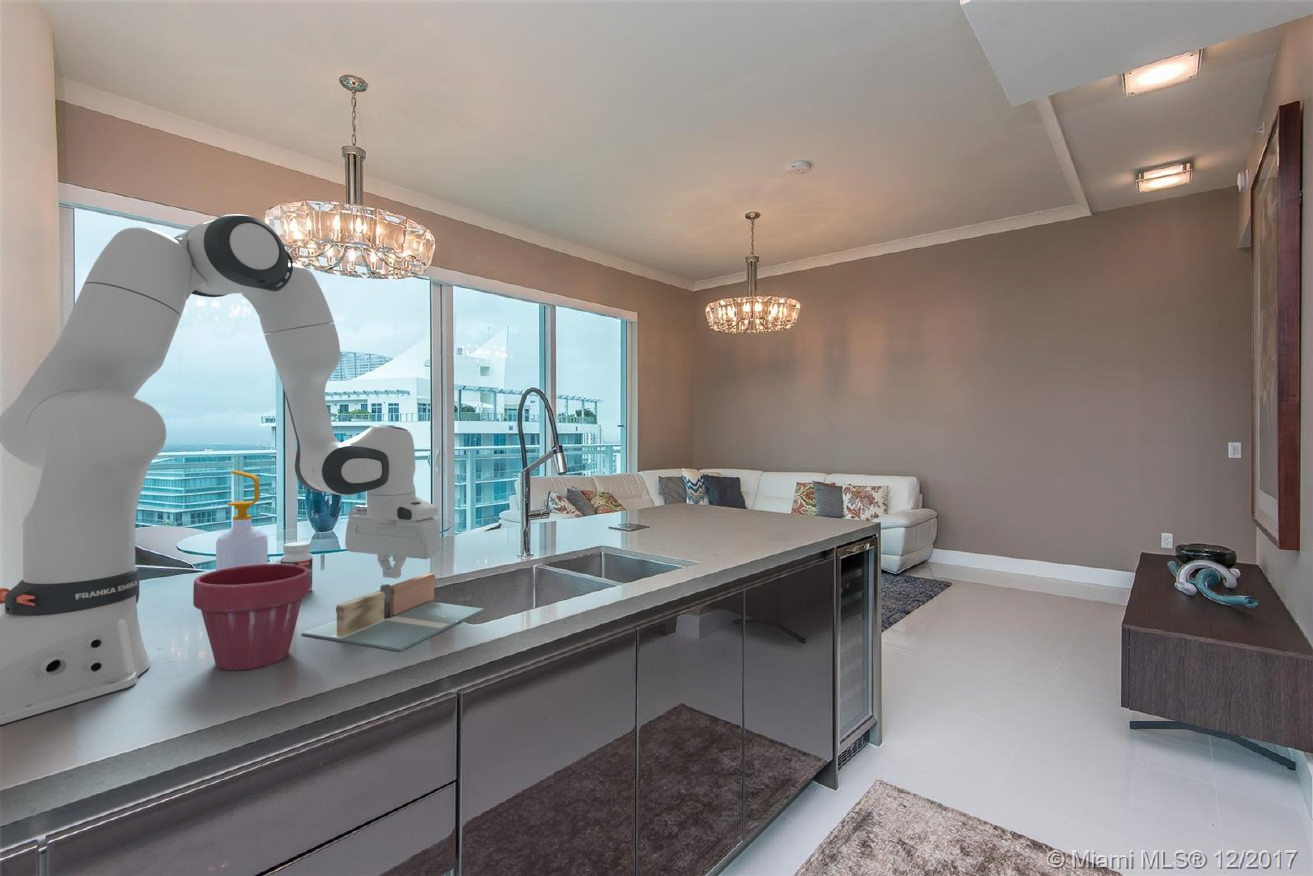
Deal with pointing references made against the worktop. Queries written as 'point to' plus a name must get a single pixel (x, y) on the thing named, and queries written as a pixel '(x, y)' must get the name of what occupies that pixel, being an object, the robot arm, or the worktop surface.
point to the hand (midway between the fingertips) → (391, 577)
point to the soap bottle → (242, 536)
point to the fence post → (386, 600)
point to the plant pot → (251, 612)
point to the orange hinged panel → (411, 593)
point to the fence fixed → (360, 613)
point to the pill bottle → (298, 556)
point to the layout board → (401, 626)
